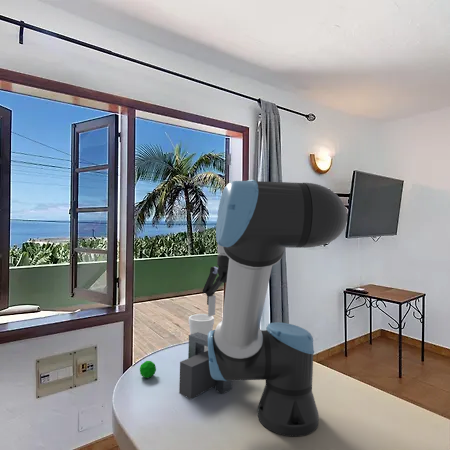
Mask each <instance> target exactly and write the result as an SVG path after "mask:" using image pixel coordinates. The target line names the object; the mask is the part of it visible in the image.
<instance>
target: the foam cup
mask: <svg viewBox="0 0 450 450" xmlns="http://www.w3.org/2000/svg"><path fill="white" fill-rule="evenodd" d="M214 324H215V316H214V315H213V316H208V313H196V314H192V315H190V316H188V325H189V326H188V327H189V335H191V334H194V333H197V332H199V333H202V334H205V335H208V333H209V331H213V330H214V329H213V328H214ZM205 351H208V347H207V346H204V352H205Z"/></svg>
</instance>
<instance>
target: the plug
mask: <svg viewBox="0 0 450 450" xmlns="http://www.w3.org/2000/svg"><path fill="white" fill-rule="evenodd" d="M215 382H216V380H215V379H213V378H212V377H211V374H210V368H209V356H208V351H205V352H203V353H201V354H198V355H196V356H193V357H191V358H186V359H183V360H182V361H179V385H178V386H179V387H178V388H179V390H178V391H179V392H178V393H179V394H181V395H182V396H184V397H186V398H188V399H191V400H192V399H194V398H196V397H198V396H200V395H202V394H203V393H205V392H207V391H209V390H211V389H212V388H214V387H215Z"/></svg>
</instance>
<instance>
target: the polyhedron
mask: <svg viewBox="0 0 450 450" xmlns="http://www.w3.org/2000/svg"><path fill="white" fill-rule="evenodd" d="M156 367H157V366H156V364H155V362H153V361H152V360H146V361H144V362H143V363H142V364H141V365H140V367H139V373H140V375H141V377H142V378H145V379H150V378H151V377H153V376H154V375H155V374H156V371H157V368H156Z"/></svg>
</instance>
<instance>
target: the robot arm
mask: <svg viewBox="0 0 450 450" xmlns="http://www.w3.org/2000/svg"><path fill="white" fill-rule="evenodd" d="M218 204H219V205H218V208H217V217H216V218H217V219H216V225H215V239H216V243H217V251H216V252H217V253H218V254H217V257H216V258H217V261H216V262H217V264H216V265H217V266H210V270H209V275H208V277H207V279H206V282H205V283H204V287H203V289H202V293H203V294H206V297H207V298H206V299H207V301H206V304H207V306H208V307H207V314H208V316H213V317H214V316H215V315H216V299H217V298H216V297H217V296H216V295H215V294H216V292H217V291H218V289H219V288H220V287H221V285H222V284H226V285H225V293H224V303H223V311H222V320H221V321H220V322H218V324H217V325H216V327H215V329H212V331H209V333H208V356H209V368H210V374H211V377H212V378H213V379H215V380H224V381H232V382H233V381H262V380H263V381H265V386H264V387H263V391H262V394H261V396H260V398H259V402H258V405H257V418H258V421H259V422H260V424H261V425H262V426H263V427H265V428H266V429H267V430H269V431H271V432H273V433H276V434H279V435H283V436H287V437H302V436H307V435H309V434H312V433H313V432H314V431H316V430H317V428H318V426H319V411H318V407H317V404H316V401H315V397H314V393H313V377H314V375H313V373H314V371H313V370H314V369H313V368H314V353H315V349H314V338H313V336H312V334H311V332H309V331H308V330H307V329H306V328H303V327H300V326H298V325H296V324H292V323H286V322H277V321H275V322H270V323H268V324H267V327H266V330H265V329H263V330H261V328H260V325H261V321H262V316H263V310H264V307H265V302H266V297H267V292H268V289H269V282H270V277H271V274H272V268H273V266H274V265H277V264H278V263H279V262H280V261H281V259H282V258H283V256H284V252H285V248H291V249H292V248H297V249H300V248H302V249H303V248H304V249H305V248H315V247H316V248H317V247H321V246H324V245H326V244H329V243H331V242H333V241H335V240H336V239H337V238H338V237H340V235H341V234H342V233H343V231H344V229H345V227H346V224H347V221H348V220H347V218H348V215H347V208H346V205H345V203H344V202H343V200H342V199H341V198H340V197H339V196H338V194H337V193H335V192H334V191H333V190H331V189H329V188H328V187H326V186H323V185H321V184H318V183H313V182H292V181H289V182H286V181H285V182H284V181H283V182H282V181H261V180H260V181H259V180H257V181H256V180H255V179H248V180H234V181H233V180H232V181H230V182H229V183H227V184H226V186H225V187H224V188H223V191H222V193H221V196H220V200H219V203H218Z"/></svg>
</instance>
